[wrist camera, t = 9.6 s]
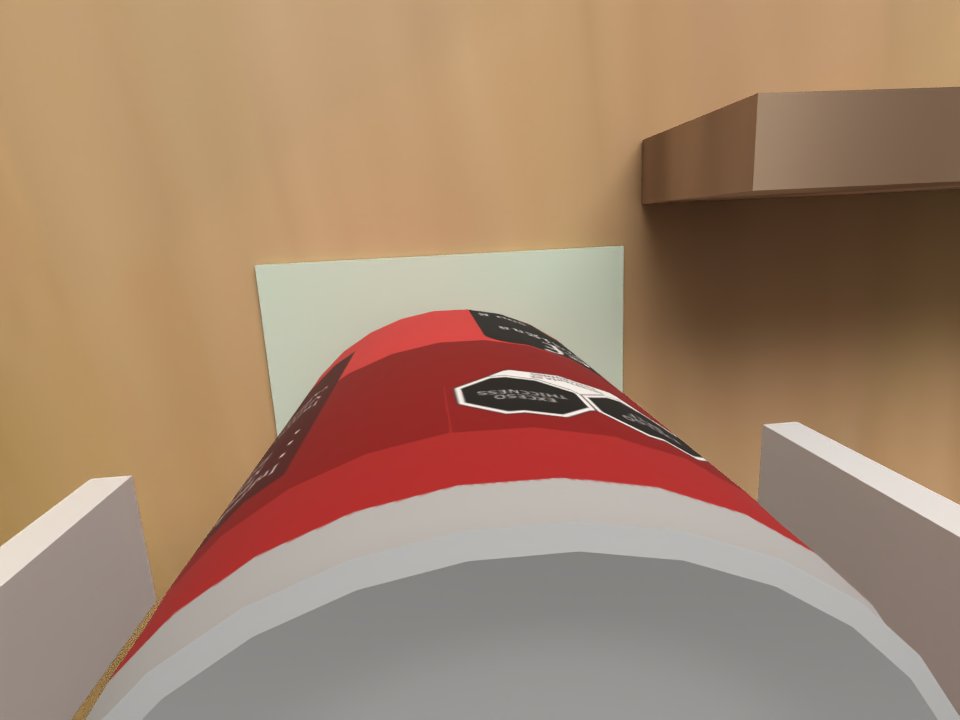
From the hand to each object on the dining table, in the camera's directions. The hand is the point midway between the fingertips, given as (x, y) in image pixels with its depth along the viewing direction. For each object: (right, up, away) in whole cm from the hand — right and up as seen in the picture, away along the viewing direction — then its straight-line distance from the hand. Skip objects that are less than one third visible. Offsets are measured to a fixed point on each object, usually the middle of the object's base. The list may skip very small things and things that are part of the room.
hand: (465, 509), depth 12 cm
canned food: (0, +1, +4) cm, 4 cm away
